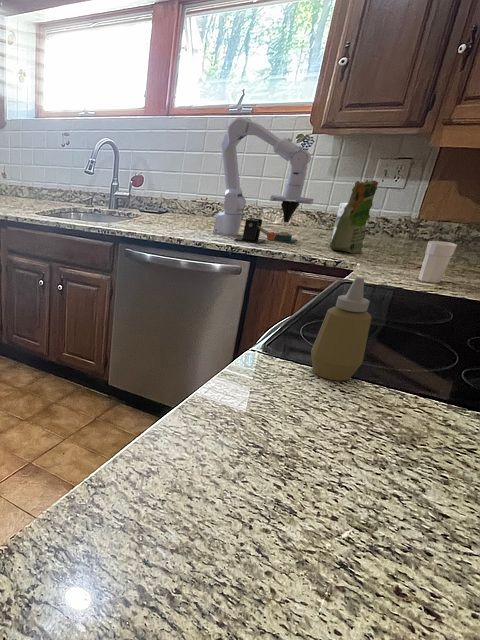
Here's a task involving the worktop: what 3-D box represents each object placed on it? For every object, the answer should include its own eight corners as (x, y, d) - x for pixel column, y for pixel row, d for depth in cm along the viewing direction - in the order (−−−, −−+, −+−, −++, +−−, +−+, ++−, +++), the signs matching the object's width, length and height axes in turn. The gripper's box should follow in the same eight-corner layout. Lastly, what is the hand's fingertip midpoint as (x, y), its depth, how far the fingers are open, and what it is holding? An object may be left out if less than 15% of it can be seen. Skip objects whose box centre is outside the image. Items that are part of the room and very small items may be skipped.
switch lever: (273, 240, 198) (278, 234, 197) (270, 242, 196) (275, 235, 195) (249, 225, 203) (254, 218, 201) (246, 225, 201) (251, 219, 199)
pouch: (357, 249, 194) (378, 178, 184) (368, 256, 184) (391, 181, 174) (323, 246, 197) (342, 177, 187) (333, 253, 187) (353, 180, 176)
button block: (266, 241, 205) (268, 233, 204) (272, 239, 209) (273, 231, 208) (291, 245, 200) (293, 237, 198) (296, 242, 204) (298, 235, 202)
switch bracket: (265, 242, 203) (270, 219, 199) (257, 245, 198) (262, 222, 194) (241, 239, 209) (246, 216, 205) (233, 242, 203) (238, 219, 200)
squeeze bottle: (338, 365, 99) (367, 271, 91) (367, 384, 91) (401, 284, 84) (296, 365, 99) (322, 271, 91) (322, 384, 91) (352, 284, 84)
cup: (416, 276, 159) (428, 240, 155) (443, 280, 156) (457, 243, 151) (414, 280, 155) (427, 243, 150) (442, 284, 151) (456, 246, 146)
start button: (277, 235, 203) (278, 230, 203) (280, 234, 205) (281, 229, 205) (285, 236, 201) (286, 231, 201) (288, 235, 203) (289, 230, 203)
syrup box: (352, 242, 205) (363, 204, 199) (337, 242, 205) (348, 204, 199) (344, 239, 210) (354, 202, 204) (329, 239, 210) (339, 202, 204)
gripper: (319, 185, 194) (310, 223, 199) (277, 182, 203) (270, 218, 208) (313, 187, 189) (304, 225, 195) (271, 184, 198) (263, 220, 204)
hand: (286, 222), depth 201 cm, fingers closed
